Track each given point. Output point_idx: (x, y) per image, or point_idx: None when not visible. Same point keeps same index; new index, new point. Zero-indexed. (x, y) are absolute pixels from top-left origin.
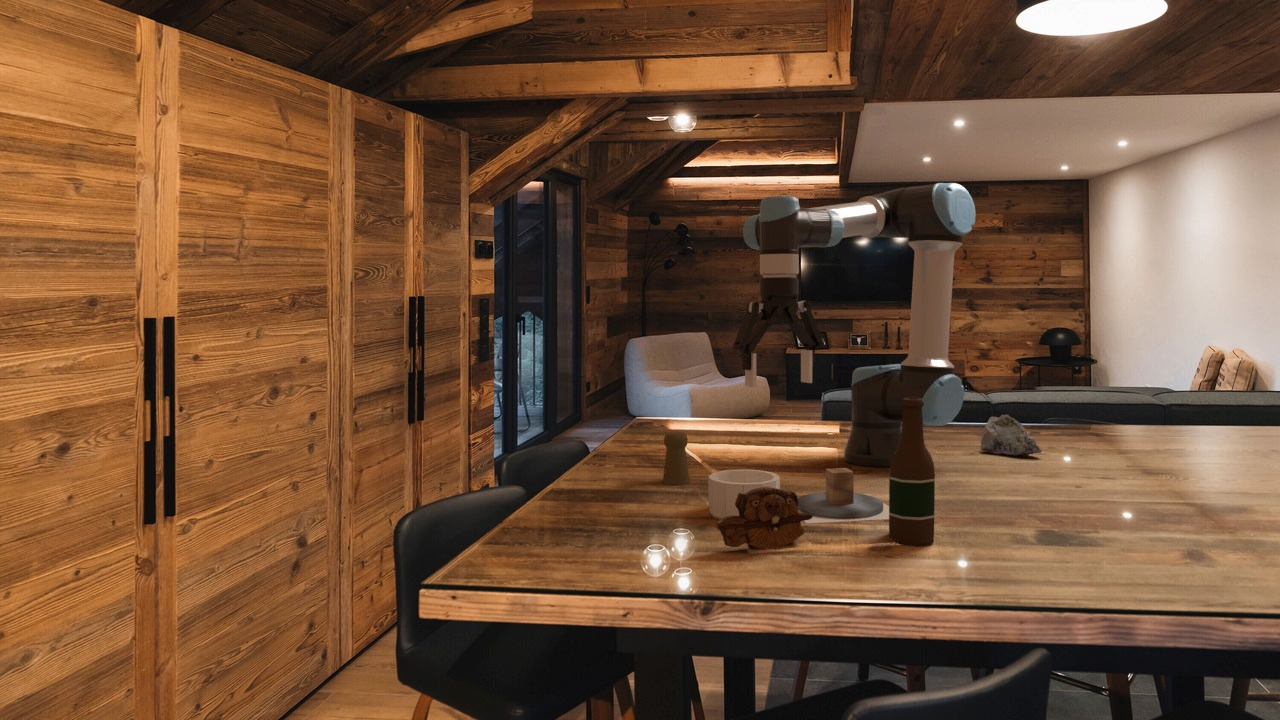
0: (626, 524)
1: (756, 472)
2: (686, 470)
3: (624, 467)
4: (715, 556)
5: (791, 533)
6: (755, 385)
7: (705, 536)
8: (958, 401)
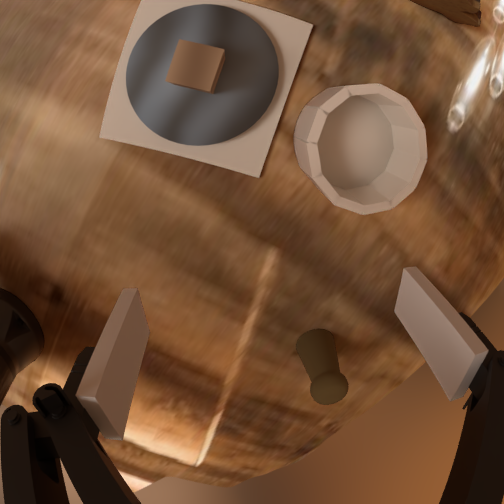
0: (480, 182)
1: (324, 177)
2: (312, 346)
3: (316, 414)
4: None
5: None
6: (410, 270)
7: (446, 79)
8: None
